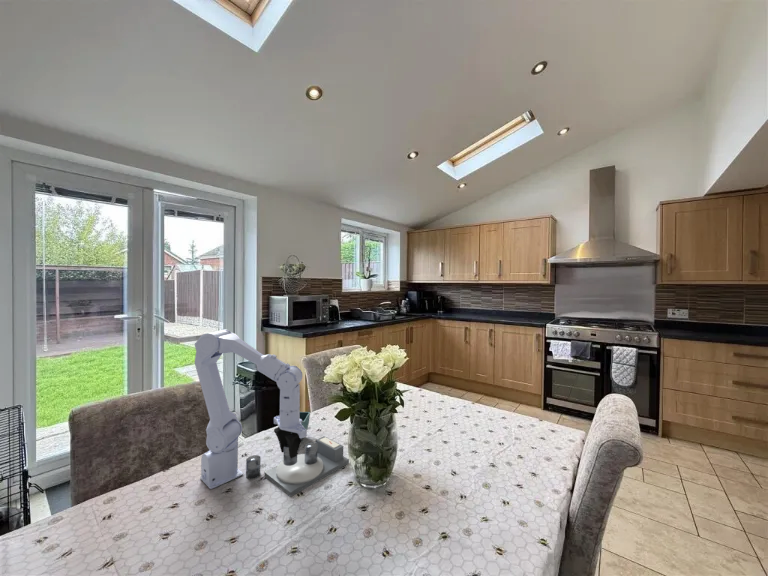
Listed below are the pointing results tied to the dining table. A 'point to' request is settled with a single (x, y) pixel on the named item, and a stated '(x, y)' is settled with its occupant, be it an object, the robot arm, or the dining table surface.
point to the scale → (308, 468)
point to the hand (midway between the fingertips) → (289, 453)
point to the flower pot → (305, 419)
